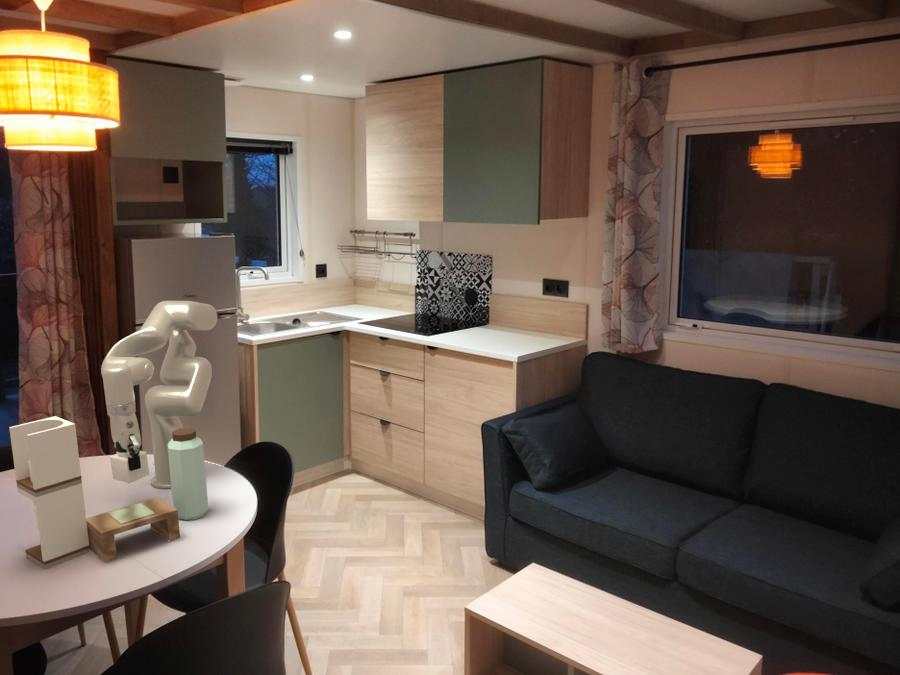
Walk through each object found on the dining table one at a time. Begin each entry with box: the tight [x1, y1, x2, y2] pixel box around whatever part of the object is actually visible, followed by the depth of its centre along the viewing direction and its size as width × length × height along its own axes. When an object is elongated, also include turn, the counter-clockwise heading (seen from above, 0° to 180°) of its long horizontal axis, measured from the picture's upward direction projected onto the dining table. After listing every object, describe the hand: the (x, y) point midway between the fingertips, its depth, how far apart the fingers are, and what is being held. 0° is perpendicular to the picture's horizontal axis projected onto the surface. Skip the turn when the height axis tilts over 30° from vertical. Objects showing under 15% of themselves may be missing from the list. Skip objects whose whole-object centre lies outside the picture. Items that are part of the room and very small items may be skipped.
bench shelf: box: [86, 496, 181, 563], centre depth 212 cm, size 20×12×8 cm, turn 133°
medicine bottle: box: [109, 441, 150, 484], centre depth 229 cm, size 7×7×12 cm
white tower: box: [8, 415, 91, 570], centre depth 203 cm, size 11×11×35 cm
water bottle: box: [167, 427, 209, 521], centre depth 227 cm, size 10×10×25 cm
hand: (128, 464), depth 229 cm, fingers closed on medicine bottle, 8 cm apart
